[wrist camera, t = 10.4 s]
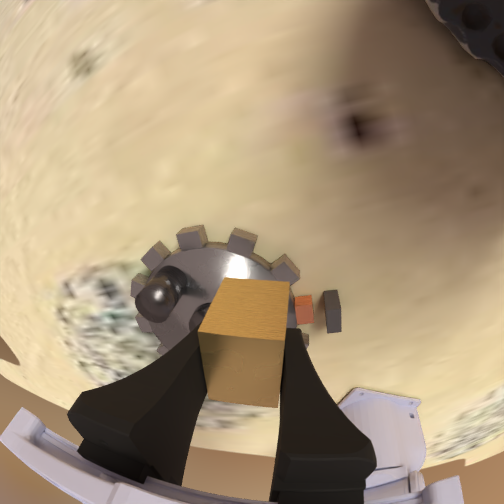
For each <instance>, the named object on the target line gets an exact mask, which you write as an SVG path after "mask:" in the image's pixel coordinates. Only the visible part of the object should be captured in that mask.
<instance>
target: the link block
mask: <svg viewBox="0 0 504 504" xmlns="http://www.w3.org/2000/svg"><path fill="white" fill-rule="evenodd" d="M289 287H290V282H284V281H269V280H255V279H242V278H229V277H224V279H223V281H222V283H221V285H220V287H219V289H218V291H217V293H216V295H215V297H214V299H213V301H212V303H211V305H210V307H209V309H208V311H207V313H206V315H205V317H204V319H203V321H202V323H201V325H200V327H199V329H198V338H199V344H200V351H201V357H202V363H203V369H204V375H205V381H206V386H207V392H208V397H209V399H211V400H217V401H223V402H230V403H237V404H245V405H253V406H262V407H272V408H278V401H279V393H280V384H281V375H282V365H283V356H284V345H285V335H286V324H287V312H288V300H289Z"/></svg>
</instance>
